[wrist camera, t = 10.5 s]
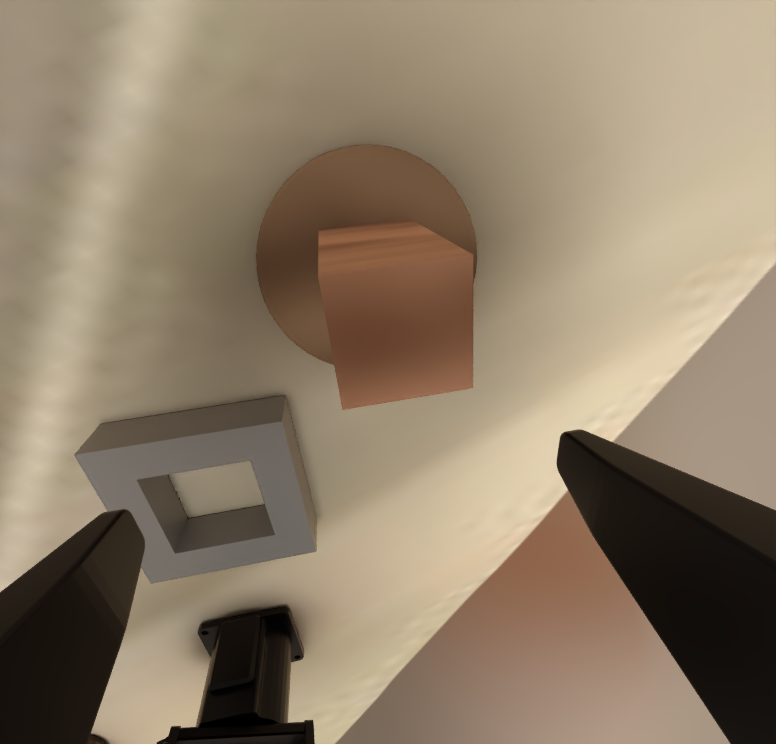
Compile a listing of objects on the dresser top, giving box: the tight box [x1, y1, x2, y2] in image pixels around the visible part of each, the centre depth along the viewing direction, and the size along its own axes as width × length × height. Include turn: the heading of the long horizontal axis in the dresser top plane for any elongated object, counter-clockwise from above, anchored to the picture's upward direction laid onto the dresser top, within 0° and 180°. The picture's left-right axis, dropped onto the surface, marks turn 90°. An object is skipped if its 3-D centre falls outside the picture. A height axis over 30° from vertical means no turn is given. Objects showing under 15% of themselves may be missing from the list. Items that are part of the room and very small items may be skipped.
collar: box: [74, 395, 317, 583], centre depth 22 cm, size 10×10×2 cm
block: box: [318, 219, 473, 410], centre depth 14 cm, size 4×4×8 cm
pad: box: [256, 145, 477, 365], centre depth 18 cm, size 10×10×1 cm
